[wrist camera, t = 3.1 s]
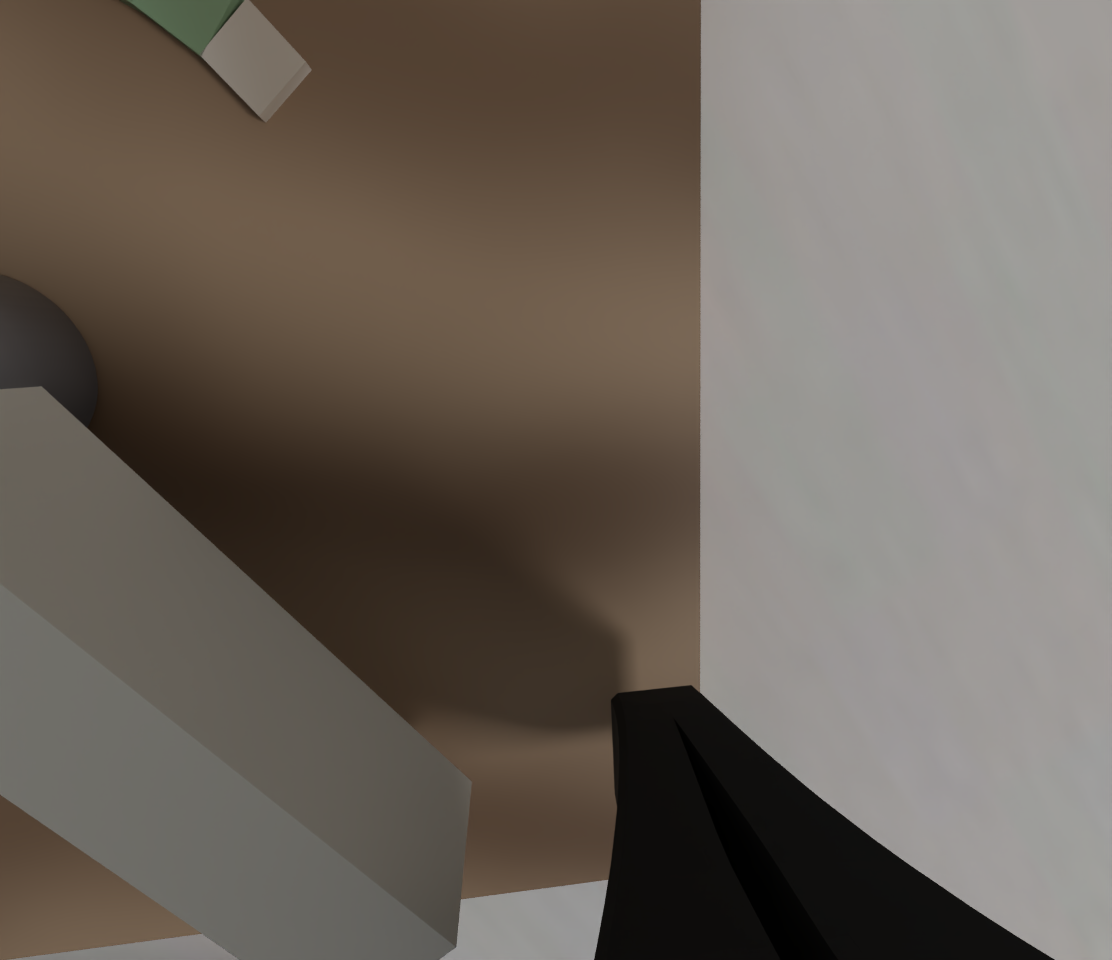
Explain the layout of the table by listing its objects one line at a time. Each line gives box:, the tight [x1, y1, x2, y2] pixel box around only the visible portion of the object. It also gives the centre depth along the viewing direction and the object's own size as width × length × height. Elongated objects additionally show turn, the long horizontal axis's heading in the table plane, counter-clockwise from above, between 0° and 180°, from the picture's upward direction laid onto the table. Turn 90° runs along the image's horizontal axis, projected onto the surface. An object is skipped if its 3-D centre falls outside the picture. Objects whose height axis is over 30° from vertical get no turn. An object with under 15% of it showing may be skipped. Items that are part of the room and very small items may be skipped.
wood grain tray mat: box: [0, 0, 701, 960], centre depth 8 cm, size 18×20×1 cm
